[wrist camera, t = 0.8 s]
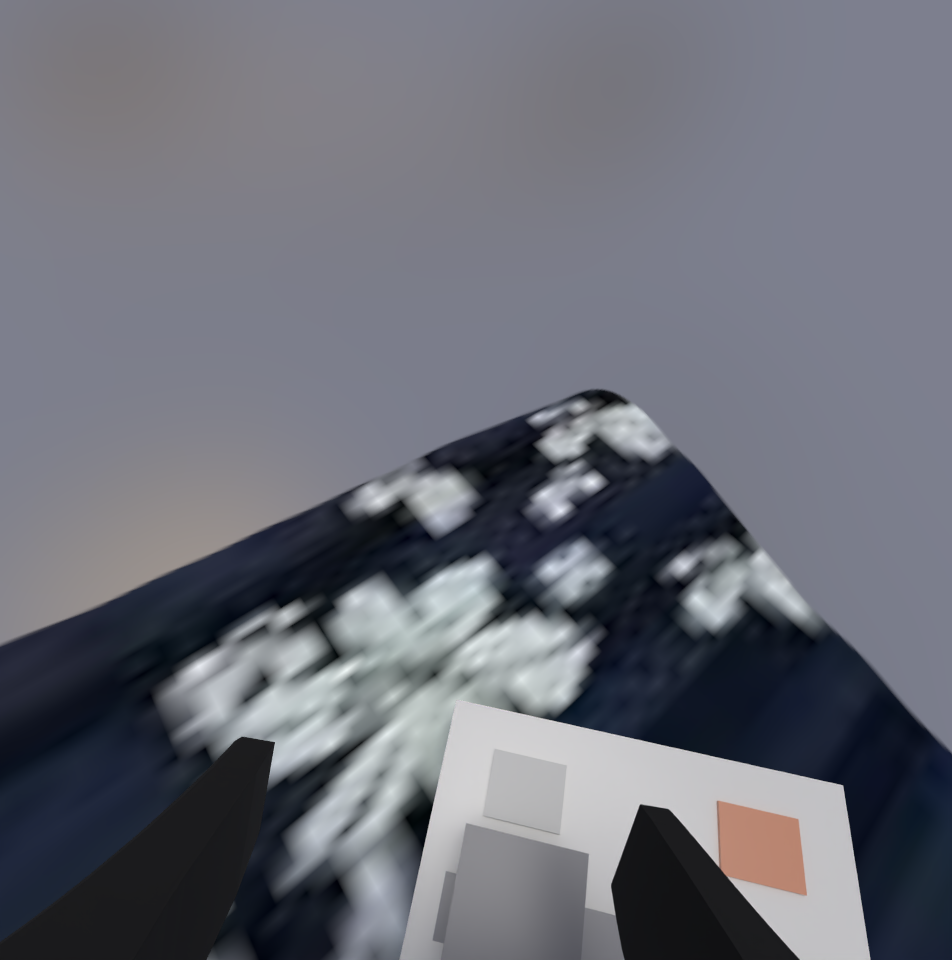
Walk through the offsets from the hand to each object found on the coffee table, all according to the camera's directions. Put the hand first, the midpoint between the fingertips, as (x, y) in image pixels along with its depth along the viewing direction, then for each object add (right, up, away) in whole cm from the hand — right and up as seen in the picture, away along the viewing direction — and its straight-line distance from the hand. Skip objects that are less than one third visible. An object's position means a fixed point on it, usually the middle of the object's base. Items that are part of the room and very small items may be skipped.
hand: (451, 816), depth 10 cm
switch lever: (+2, -9, +8) cm, 13 cm away
